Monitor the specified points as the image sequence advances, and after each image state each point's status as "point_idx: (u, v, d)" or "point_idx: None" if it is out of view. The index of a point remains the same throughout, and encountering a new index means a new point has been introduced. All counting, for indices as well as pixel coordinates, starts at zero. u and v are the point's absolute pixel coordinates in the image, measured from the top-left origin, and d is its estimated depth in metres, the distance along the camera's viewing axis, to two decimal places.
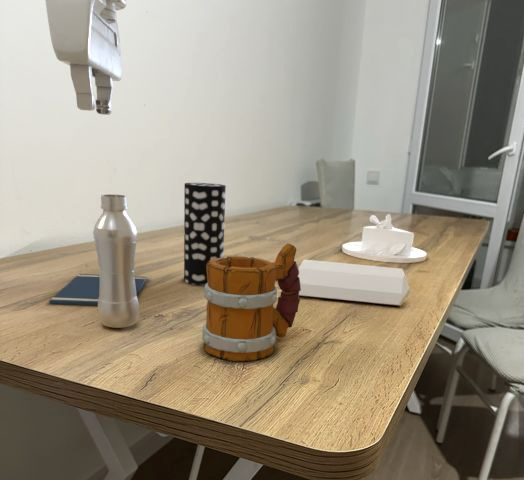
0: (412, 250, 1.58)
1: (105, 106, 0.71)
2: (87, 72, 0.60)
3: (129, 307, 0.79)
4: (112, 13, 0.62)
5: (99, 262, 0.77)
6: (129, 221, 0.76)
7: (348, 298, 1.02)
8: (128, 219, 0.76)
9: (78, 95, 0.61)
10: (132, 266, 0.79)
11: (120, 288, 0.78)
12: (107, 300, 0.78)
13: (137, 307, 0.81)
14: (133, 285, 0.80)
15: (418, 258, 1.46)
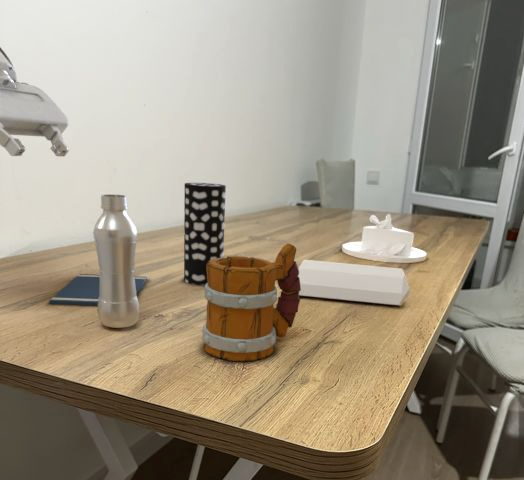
0: (412, 250, 1.58)
1: (58, 146, 0.80)
2: None
3: (129, 307, 0.79)
4: None
5: (99, 262, 0.77)
6: (129, 221, 0.76)
7: (348, 298, 1.02)
8: (128, 219, 0.76)
9: (6, 147, 0.72)
10: (132, 266, 0.79)
11: (120, 288, 0.78)
12: (107, 300, 0.78)
13: (137, 307, 0.81)
14: (133, 285, 0.80)
15: (418, 258, 1.46)
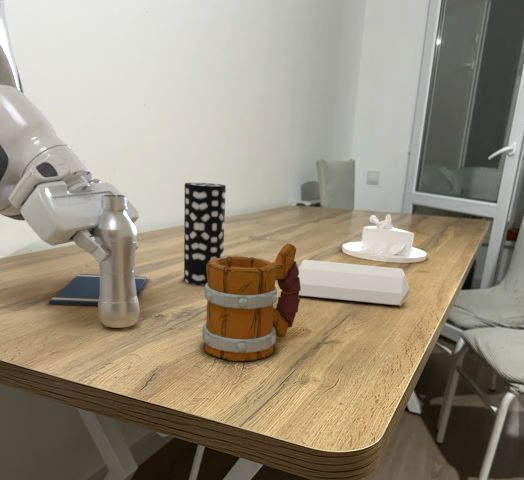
0: (412, 250, 1.58)
1: None
2: (83, 235, 0.73)
3: (129, 307, 0.79)
4: (79, 183, 0.75)
5: (99, 262, 0.77)
6: (129, 221, 0.76)
7: (348, 298, 1.02)
8: (128, 219, 0.76)
9: (93, 254, 0.75)
10: (132, 266, 0.79)
11: (120, 288, 0.78)
12: (107, 300, 0.79)
13: (137, 307, 0.81)
14: (133, 285, 0.80)
15: (418, 258, 1.46)
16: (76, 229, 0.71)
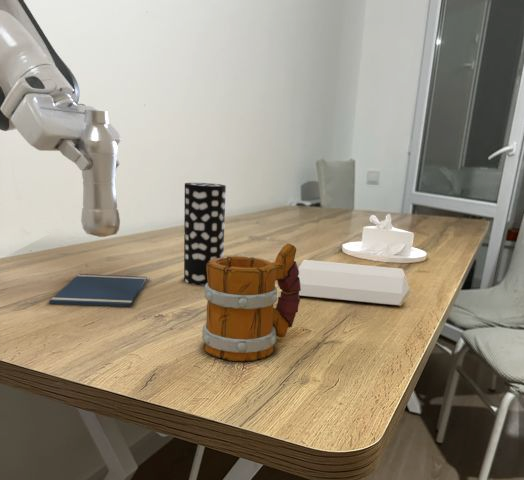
0: (412, 250, 1.58)
1: None
2: (67, 143, 0.81)
3: (110, 216, 0.87)
4: (65, 100, 0.83)
5: (83, 173, 0.85)
6: (110, 135, 0.84)
7: (348, 298, 1.02)
8: (109, 133, 0.84)
9: (76, 162, 0.83)
10: (113, 178, 0.86)
11: (102, 197, 0.86)
12: (90, 209, 0.86)
13: (117, 218, 0.89)
14: (114, 196, 0.88)
15: (418, 258, 1.46)
16: (61, 136, 0.79)
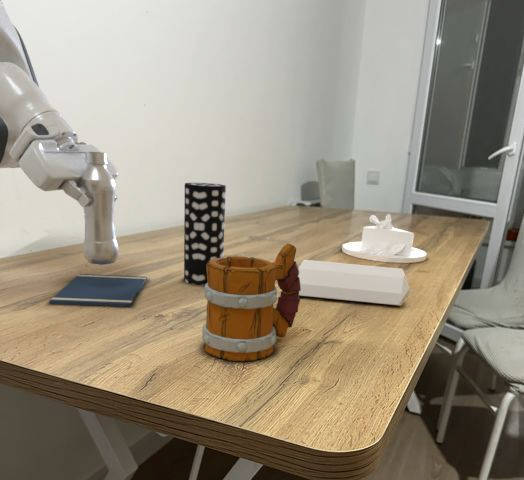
0: (412, 250, 1.58)
1: None
2: (70, 184, 0.89)
3: (109, 246, 0.96)
4: (67, 142, 0.92)
5: (84, 208, 0.94)
6: (108, 174, 0.92)
7: (348, 298, 1.02)
8: (108, 172, 0.92)
9: (78, 200, 0.91)
10: (111, 212, 0.95)
11: (102, 230, 0.94)
12: (91, 241, 0.95)
13: (116, 248, 0.97)
14: (113, 228, 0.96)
15: (418, 258, 1.46)
16: (64, 178, 0.88)
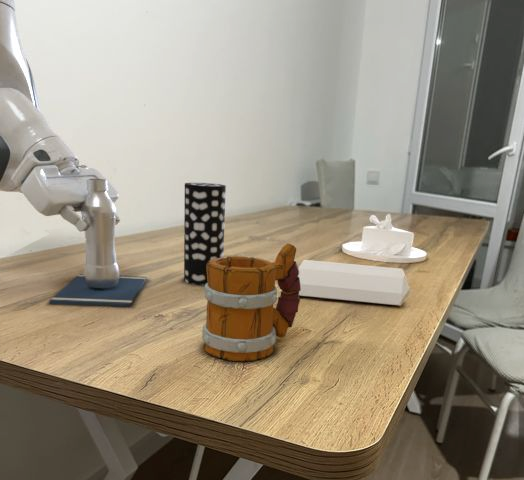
0: (412, 250, 1.58)
1: None
2: (67, 209, 0.89)
3: (110, 270, 0.97)
4: (68, 167, 0.93)
5: (85, 234, 0.95)
6: (109, 200, 0.94)
7: (348, 298, 1.02)
8: (109, 198, 0.94)
9: (75, 225, 0.91)
10: (112, 237, 0.96)
11: (103, 254, 0.96)
12: (92, 265, 0.96)
13: (117, 271, 0.99)
14: (113, 253, 0.98)
15: (418, 258, 1.46)
16: (65, 203, 0.89)
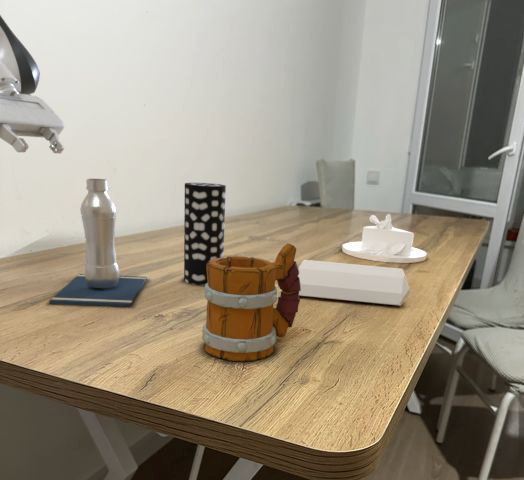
0: (412, 250, 1.58)
1: (55, 145, 0.98)
2: (4, 127, 0.88)
3: (110, 270, 0.97)
4: (7, 88, 0.92)
5: (85, 234, 0.95)
6: (109, 200, 0.94)
7: (348, 298, 1.02)
8: (108, 198, 0.94)
9: (13, 145, 0.90)
10: (112, 237, 0.96)
11: (103, 254, 0.96)
12: (92, 265, 0.96)
13: (117, 271, 0.99)
14: (113, 253, 0.98)
15: (418, 258, 1.46)
16: (1, 121, 0.88)
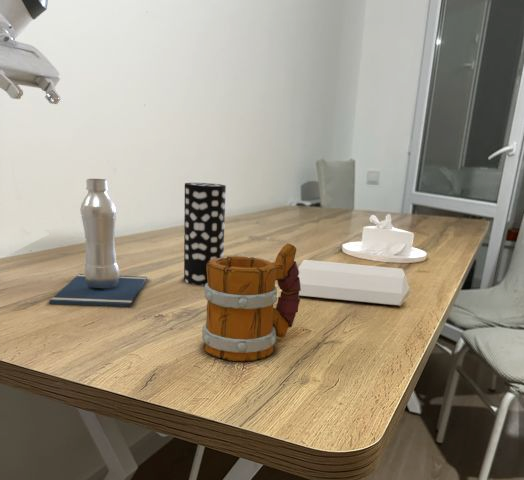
0: (412, 250, 1.58)
1: (51, 95, 0.95)
2: None
3: (110, 270, 0.97)
4: (1, 33, 0.89)
5: (85, 234, 0.95)
6: (109, 200, 0.94)
7: (348, 298, 1.02)
8: (108, 198, 0.94)
9: (7, 91, 0.87)
10: (112, 237, 0.96)
11: (103, 254, 0.96)
12: (92, 265, 0.96)
13: (117, 271, 0.99)
14: (113, 253, 0.98)
15: (418, 258, 1.46)
16: None
